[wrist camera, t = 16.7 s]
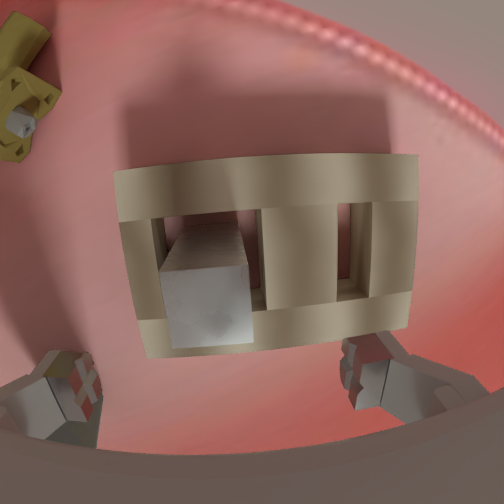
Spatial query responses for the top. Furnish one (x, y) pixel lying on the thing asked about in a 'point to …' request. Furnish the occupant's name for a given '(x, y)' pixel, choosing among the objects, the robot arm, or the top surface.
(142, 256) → the tan flat slatted block
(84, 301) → the top surface
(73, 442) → the disposable coffee cup
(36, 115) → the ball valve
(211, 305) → the square bit
